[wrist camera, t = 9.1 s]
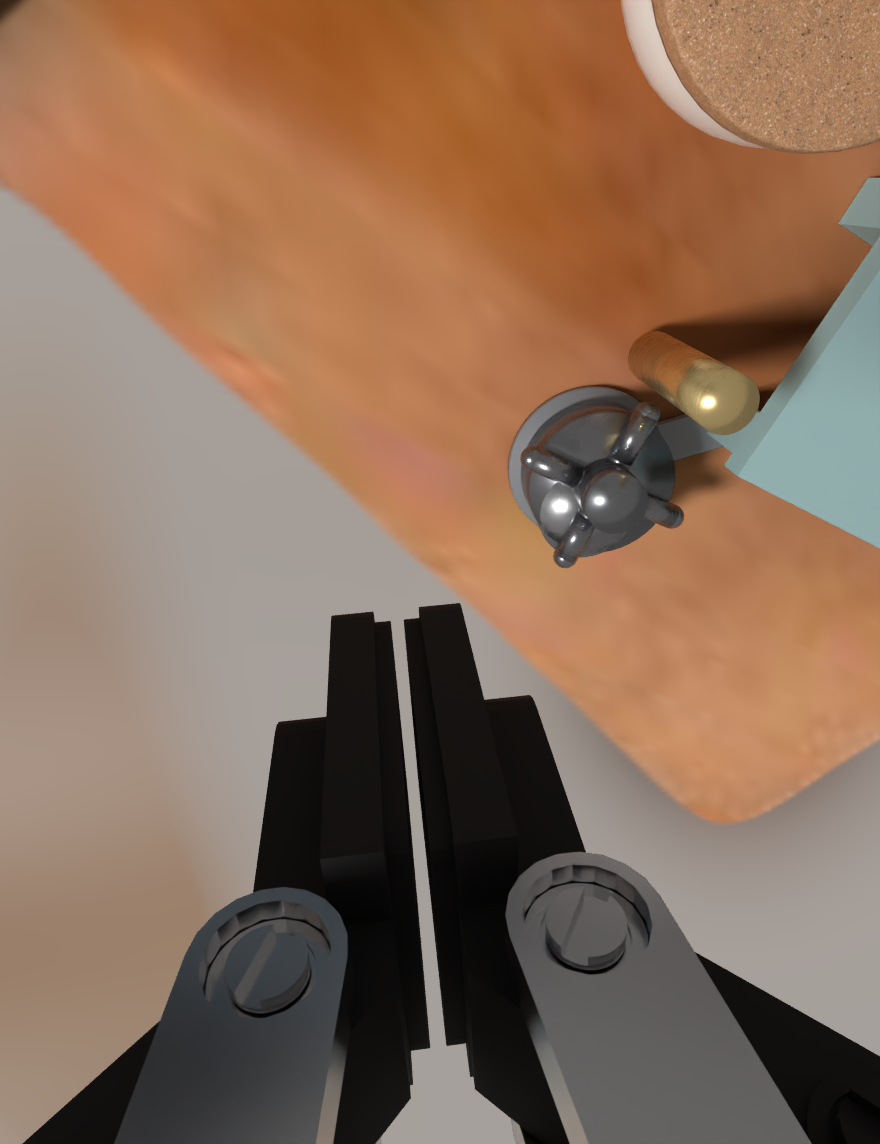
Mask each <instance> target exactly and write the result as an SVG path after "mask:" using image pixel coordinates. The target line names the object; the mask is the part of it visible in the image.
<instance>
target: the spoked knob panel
mask: <svg viewBox="0 0 880 1144" xmlns="http://www.w3.org/2000/svg"><path fill="white" fill-rule="evenodd" d="M838 224H840V225H841V226H843V227H844V228H846V229H847V230H849V231H850V232H852V233H853V234H855V235H856V236H858V237H859V238H861V239H862V240H864V241H865V242H867V243H868V244H870V245H871V246H873V247H872V248H871V250H870V251H869V253H868V254H867V256H866V257H865V259H864V260H863V262H862V263H861V265H860V266H859V268H858V269H857V270H856V272H855V273H854V275H853V276H852V278H851V279H850V281H849V282H848V284H847V285H846V287H845V288H844V290H843V291H842V293H841V294H840V295H839V297H838V298H837V300H836V301H835V303H834V304H833V306H832V307H831V309H830V310H829V312H828V313H827V315H826V316H825V318H824V319H823V320H822V322H821V323H820V325H819V326H818V328H817V329H816V331H815V332H814V334H813V335H812V337H811V338H810V340H809V341H808V343H807V344H806V346H805V347H804V348H803V350H802V351H801V353H800V354H799V356H798V357H797V359H796V360H795V362H794V363H793V365H792V366H791V368H790V369H789V371H788V372H787V373H786V375H785V376H784V378H783V379H782V381H781V382H780V384H779V385H778V387H777V388H776V390H775V391H774V393H773V394H772V396H771V397H770V398H769V400H768V401H767V403H766V404H765V406H764V407H763V409H762V410H761V412H760V411H759V410H757V412H756V414H755V416H754V418H753V419H752V420H751V422H750V423H749V424H748V425H747V426H746V427H744V428H743V429H742V430H740V431H738V432H736V433H733V434H730V435H717V434H714V433H711V432H709V431H708V430H707V429H705V428H704V427H703V426H701V425H700V424H699V423H697V422H696V421H695V420H693V419H692V418H691V417H689V416H688V415H687V414H683V415H680V416H676V417H673V418H670V419H666V420H663V421H659V422H657V423H656V425H655V427H654V429H656V430H657V431H658V433H659V434H660V435H661V436H662V437H663V438H664V440H665V441H666V443H667V444H668V446H669V448H670V450H671V453H672V456H673V460H674V461H675V460H678V459H682V458H685V457H689V456H692V455H696V454H699V453H703V452H706V451H710V450H713V449H716V448H720V447H723V446H724V447H726V448H727V449H728V450H729V451H731V452H732V454H731V456H730V457H729V459H728V460H727V462H726V463H725V465H724V466H725V467H727V468H728V469H729V470H730V471H732V472H733V473H734V474H735V475H736V476H738V477H740V478H742V479H744V480H746V481H748V482H750V483H752V484H754V485H756V486H758V487H760V488H762V489H764V490H766V491H768V492H770V493H772V494H773V495H775V496H777V497H779V498H781V499H783V500H785V501H787V502H789V503H791V504H793V505H795V506H797V507H799V508H801V509H803V510H805V511H807V512H809V513H811V514H813V515H815V516H817V517H819V518H821V519H823V520H825V521H827V522H829V523H831V524H833V525H835V526H837V527H839V528H841V529H843V530H845V531H847V532H849V533H850V534H852V535H854V536H856V537H858V538H860V539H862V540H864V541H866V542H868V543H870V544H872V545H874V546H876V547H878V548H880V178H869V177H868V179H867V180H866V182H865V183H864V185H863V187H862V188H861V190H860V191H859V193H858V194H857V196H856V197H855V199H854V200H853V202H852V203H851V205H850V206H849V208H848V209H847V211H846V213H845V214H844V216H843V217H842V219H841V220H840V222H839V223H838ZM595 400H601V401H610V402H615V403H618V404H621V405H624V406H626V407H628V408H629V409H631V410H633V411H634V409H635V408H636V406H637V405H638V404H640V403H639V402H638V401H637V400H636V399H635V398H633V397H631V396H630V395H628V394H627V393H624V392H622V391H620V390H617V389H613V388H609V387H603V386H584V387H577V388H573V389H570V390H566V391H564V392H562V393H559V394H557V395H555V396H553V397H552V398H550V399H548V400H547V401H545V402H544V403H542V404H541V405H540V406H538V407H537V408H536V409H535V410H534V411H533V412H532V413H531V414H530V415H529V417H528V418H527V419H526V420H525V421H524V423H523V424H522V426H521V427H520V429H519V430H518V432H517V434H516V437H515V439H514V441H513V444H512V447H511V450H510V455H509V460H508V476H509V483H510V487H511V490H512V493H513V495H514V498H515V500H516V502H517V503H518V505H519V507H520V509H521V510H522V511H523V513H524V514H525V515H526V516H527V517H528V518H529V519H530V520H531V521H532V522H533V523H535V524H536V525H537V526H538V524H537V522H536V520H535V518H534V516H533V514H532V511H531V509H530V507H529V505H528V503H527V501H526V499H525V496H524V494H523V490H522V486H521V465H522V464H521V461H520V456H521V453H522V451H523V450H524V449H525V448H526V447H527V446H528V443H529V442H530V440H531V438H532V437H533V435H534V434H535V433H536V431H537V430H538V429H539V427H540V426H541V425H542V424H543V423H544V422H545V421H546V420H548V419H549V418H550V417H551V416H553V415H554V414H556V413H557V412H559V411H561V410H562V409H564V408H567V407H569V406H571V405H574V404H577V403H581V402H586V401H595Z"/></svg>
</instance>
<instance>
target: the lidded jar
mask: <svg viewBox="0 0 880 1144" xmlns="http://www.w3.org/2000/svg"><path fill="white" fill-rule="evenodd" d="M621 6H622V12H623V17H624V22H625V26H626V31H627V36H628V39H629V42H630V44H631V47H632V50H633V52H634V55H635V58H636V61H637V63H638V65H639V66H640V68H641V70H642V72H643V74H644V75H645V77H646V79H647V81H648V83H649V84H650V86H651V87H652V88H653V89H654V91H655V92H656V93H657V94H658V96H659V97H660V98H661V99H662V101H663V102H664V103H665V104H666V105H667V106H668V107H669V108H671V109H672V110H673V111H674V112H675V113H676V114H678V115H679V116H680V117H681V118H682V119H684V120H685V121H686V122H688V123H689V124H691V125H693V126H694V127H696V128H698V129H699V130H701V131H703V132H705V133H706V134H708V135H711V136H714V137H717V138H720V139H723V140H725V141H728V142H731V143H735V144H738V145H741V146H748V147H755V148H763V149H771V150H777V151H785V152H792V153H801V154H806V153H823V152H839V151H843V150H847V149H851V148H856V147H860V146H864V145H868V144H870V143H873V142H875V141H878V140H880V0H621Z"/></svg>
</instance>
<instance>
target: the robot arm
mask: <svg viewBox="0 0 880 1144" xmlns="http://www.w3.org/2000/svg"><path fill="white" fill-rule="evenodd" d="M404 627H405V639H406V650H407V661H408V672H409V683H410V694H411V705H412V716H413V727H414V738H415V748H416V760H417V771H418V780H419V791H420V801H421V810H422V820H423V830H424V839H425V848H426V858H427V868H428V877H429V885H430V895H431V905H432V913H433V924H434V933H435V943H436V951H437V961H438V970H439V980H440V989H441V998H442V1008H443V1017H444V1027H445V1036H446V1045H447V1046H449V1045H457V1044H464V1043H466V1048H467V1056H468V1063H469V1071H470V1077H472V1076H473V1077H474V1083H475V1089H476V1090H477V1091H478V1092H479V1093H480V1094H482V1095H483V1096H484V1097H485V1098H487V1099H488V1100H489V1101H490V1102H491V1103H493V1104H494V1105H495V1106H496V1107H498V1108H499V1109H500V1110H501V1111H503V1112H504V1113H505V1114H506V1115H508V1116H509V1117H510V1118H511V1123H512V1129H513V1135H514V1139H515V1142H516V1144H880V1056H878V1055H876V1054H874V1053H873V1052H871V1051H869V1050H867V1049H866V1048H864V1047H862V1046H860V1045H859V1044H857V1043H855V1042H853V1041H852V1040H850V1039H848V1038H846V1037H845V1036H843V1035H841V1034H839V1033H837V1032H836V1031H834V1030H832V1029H830V1028H829V1027H827V1026H825V1025H823V1024H822V1023H820V1022H818V1021H816V1020H814V1019H813V1018H811V1017H809V1016H807V1015H806V1014H804V1013H802V1012H800V1011H798V1010H797V1009H795V1008H793V1007H791V1006H790V1005H788V1004H786V1003H784V1002H782V1001H781V1000H779V999H777V998H775V997H774V996H772V995H770V994H768V993H767V992H765V991H763V990H761V989H759V988H758V987H756V986H754V985H752V984H751V983H749V982H747V981H745V980H743V979H742V978H740V977H738V976H736V975H734V974H733V973H731V972H729V971H728V970H726V969H724V968H722V967H721V966H719V965H717V964H715V963H713V962H712V961H710V960H708V959H706V958H704V957H703V956H701V955H699V954H697V953H696V952H694V950H693V949H692V947H691V945H690V944H689V942H688V941H687V939H686V937H685V936H684V934H683V932H682V931H681V929H680V928H679V926H678V924H677V923H676V921H675V920H674V918H673V916H672V914H671V913H670V912H669V909H668V908H667V906H666V905H665V903H664V901H663V900H662V898H661V896H660V895H659V894H658V893H657V891H656V890H655V889H654V888H653V887H652V885H650V883H649V882H648V881H647V879H646V878H645V877H643V876H642V875H641V874H639V873H638V872H636V871H635V870H633V869H632V868H630V867H629V866H628V865H626V864H624V863H622V862H620V861H617V860H614V859H612V858H609V857H607V856H604V855H599V854H592V853H586V851H585V849H584V845H583V843H582V840H581V837H580V834H579V831H578V828H577V825H576V822H575V819H574V816H573V813H572V810H571V807H570V804H569V801H568V798H567V796H566V792H565V790H564V787H563V784H562V781H561V778H560V775H559V772H558V769H557V766H556V763H555V760H554V757H553V754H552V751H551V748H550V745H549V742H548V740H547V737H546V734H545V731H544V728H543V725H542V722H541V719H540V716H539V713H538V710H537V707H536V705H535V702H534V700H533V698H532V697H531V696H530V695H526V696H517V697H507V698H498V699H489V700H484V697H483V693H482V689H481V685H480V681H479V677H478V673H477V669H476V665H475V661H474V657H473V652H472V648H471V645H470V641H469V636H468V633H467V628H466V624H465V620H464V616H463V612H462V608H461V605H460V603H456V604H447V605H437V606H426V607H419V618H415V619H405V620H404ZM330 634H331V635H330V653H329V654H330V655H329V674H328V696H327V716H326V717H321V718H311V719H302V720H292V721H283V722H279V723H278V724H277V726H276V731H275V736H274V744H273V752H272V758H271V766H270V773H269V780H268V788H267V795H266V802H265V809H264V817H263V824H262V832H261V839H260V846H259V853H258V860H257V869H256V875H255V883H254V890H253V893H251V894H249V895H246V896H243V897H241V898H238V899H236V900H235V901H233V902H231V903H230V904H228V905H227V906H225V907H224V908H222V909H221V910H219V911H218V912H216V913H215V914H214V915H213V916H212V917H211V918H210V919H209V920H208V922H207V923H206V924H205V925H204V926H203V927H202V928H201V929H200V930H199V931H198V932H197V934H196V935H195V937H194V939H193V941H192V943H191V945H190V946H189V948H188V950H187V952H186V954H185V956H184V958H183V961H182V964H181V967H180V969H179V972H178V975H177V977H176V980H175V983H174V985H173V988H172V990H171V993H170V996H169V998H168V1001H167V1004H166V1006H165V1009H164V1012H163V1014H162V1017H161V1020H160V1021H159V1022H158V1023H157V1024H156V1025H155V1026H153V1027H152V1028H151V1029H150V1030H149V1031H148V1032H147V1033H146V1034H145V1035H143V1037H141V1038H140V1039H139V1040H138V1041H137V1042H136V1043H135V1044H134V1045H132V1046H131V1047H130V1048H129V1049H128V1050H127V1051H126V1052H124V1053H123V1054H122V1055H121V1056H120V1057H119V1058H118V1059H117V1060H115V1062H113V1063H112V1064H111V1065H110V1066H109V1067H108V1068H107V1069H106V1070H104V1071H103V1072H102V1073H101V1074H100V1075H99V1076H98V1077H96V1078H95V1079H94V1080H93V1081H92V1082H91V1083H90V1084H89V1085H88V1086H86V1087H85V1088H84V1089H83V1090H82V1091H81V1092H80V1093H79V1094H77V1095H76V1096H75V1097H74V1098H73V1099H72V1100H71V1101H70V1102H69V1103H68V1104H66V1105H65V1106H64V1107H63V1108H62V1109H61V1110H60V1111H59V1112H57V1113H56V1114H55V1115H54V1116H53V1117H52V1118H51V1119H50V1120H48V1121H47V1122H46V1123H45V1124H44V1125H43V1126H42V1127H41V1128H39V1129H38V1130H37V1131H36V1132H35V1133H34V1134H33V1135H32V1136H31V1137H29V1139H27V1140H26V1141H25V1142H24V1143H23V1144H381V1136H382V1135H383V1133H384V1132H385V1131H386V1129H387V1128H388V1127H389V1126H390V1124H391V1123H392V1122H393V1120H394V1119H395V1118H396V1116H397V1115H398V1114H399V1113H400V1111H401V1110H402V1109H403V1108H404V1106H405V1105H406V1104H407V1102H408V1101H409V1100H410V1098H411V1096H410V1085H413V1077H412V1062H411V1051H412V1050H419V1049H426V1048H430V1040H429V1028H428V1017H427V1005H426V995H425V983H424V971H423V960H422V950H421V938H420V926H419V915H418V903H417V892H416V880H415V869H414V859H413V846H412V835H411V823H410V812H409V801H408V790H407V780H406V770H405V760H404V750H403V741H402V730H401V720H400V710H399V700H398V690H397V680H396V671H395V660H394V650H393V640H392V631H391V622H390V621H386V622H375V620H374V614H373V612H365V613H355V614H345V615H335V616H332V617H331V633H330Z"/></svg>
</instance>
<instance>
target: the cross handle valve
mask: <svg viewBox="0 0 880 1144" xmlns="http://www.w3.org/2000/svg"><path fill="white" fill-rule="evenodd" d="M628 363H629V367H630V370H631V372H632V373H633V374H634V376H636V377H637V378H638V379H639V380H641V381H642V382H644V383H645V384H646V385H648V386H649V387H650V388H652V389H653V390H654V391H656V392H657V393H658V394H660V395H661V396H662V397H664V398H665V399H666V400H668V401H669V402H670V403H672V404H673V405H674V406H676V407H677V408H678V409H680V410H681V411H682V412H684V413H685V414H687V415H688V416H689V417H691V418H692V419H693V420H695V421H696V422H697V423H699V424H700V425H701V426H703V427H704V428H705V429H707V430H708V431H709V432H711V433H714V434H717V435H730V434H733V433H736V432H738V431H740V430H742V429H743V428H744V427H746V426H747V425H748V424H749V423H750V422H751V420H752V419H753V418H754V416H755V414H756V412H757V410H758V407H759V402H760V395H759V390H758V388H757V386H756V384H755V383H754V381H753V380H751V379H750V378H749V377H747V376H745V375H743V374H741V373H740V372H738V371H736V370H734V369H732V368H730V367H728V366H726V365H725V364H723V363H721V362H719V361H717V360H715V359H713V358H711V357H710V356H708V355H706V354H704V353H702V352H700V351H698V350H696V349H695V348H693V347H691V346H689V345H687V344H685V343H683V342H681V341H680V340H678V339H676V338H674V337H672V336H670V335H668V334H666V333H664V332H661V331H651V332H648V333H645V334H643V335H642V336H640V337H639V338H638V339H637V340H636V341H635V342H634V344H633V345H632V347H631V349H630V352H629V357H628ZM659 417H660V411H659V408H658V406H657V405H656V404H654V403H653V402H649V401H645V402H642V403H640V404H638V405H637V406H636V408H635V409H634V411H633V410H631V409H629V408H628V407H626V406H624V405H621V404H618V403H615V402H610V401H601V400H595V401H586V402H581V403H577V404H574V405H571V406H569V407H567V408H564V409H562V410H561V411H559V412H557V413H556V414H554V415H553V416H551V417H550V418H549V419H548V420H546V421H545V422H544V423H543V424H542V425H541V426H540V427H539V429H538V430H537V431H536V433H535V434H534V435H533V437H532V438H531V440H530V442H529V443H528V446H527V447H526V448H525V449H524V450H523V451H522V453H521V456H520V461H521V464H522V465H521V486H522V490H523V494H524V496H525V499H526V501H527V503H528V505H529V507H530V509H531V511H532V514H533V516H534V518H535V520H536V522H537V524H538V526H539V528H540V530H541V532H542V534H543V536H544V537H545V539H546V541H547V542H548V543H549V544H550V545H551V546H552V547H553V548H554V549H555V551H554V555H553V558H554V561H555V563H556V564H557V565H558V566H559V567H561V568H569V567H571V566H573V565H574V564H575V563H576V561H577V559H578V558H579V557H589V556H594V555H597V554H600V553H602V552H606V551H611V550H615V549H618V548H621V547H623V546H625V545H628V544H630V543H631V542H633V541H635V540H637V539H638V538H640V537H641V536H642V535H644V534H645V533H646V532H647V531H648V530H649V529H651V528H652V527H653V526H654V524H655V523H656V524H659V525H661V526H664V527H666V528H671V529H672V528H676V527H678V526H680V525H681V524H682V522H683V520H684V513H683V511H682V509H681V508H680V507H679V506H677V505H675V504H672V503H670V502H669V501H670V498H671V496H672V492H673V488H674V482H675V466H674V460H673V456H672V453H671V450H670V448H669V446H668V444H667V443H666V441H665V440H664V438H663V437H662V436H661V435H660V434H659V433H658V431H657V430H656V429H654V427H655V425H656V423H657V421H658V420H659Z"/></svg>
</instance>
